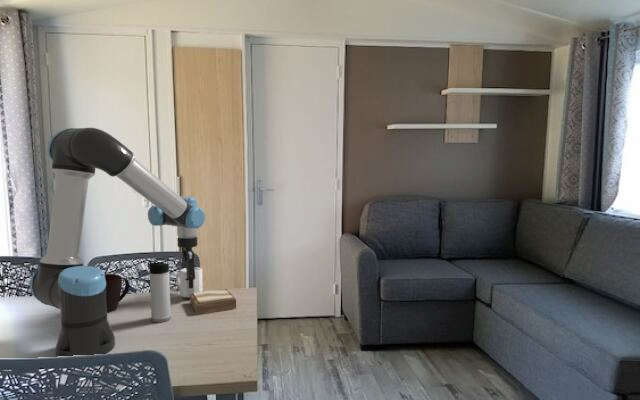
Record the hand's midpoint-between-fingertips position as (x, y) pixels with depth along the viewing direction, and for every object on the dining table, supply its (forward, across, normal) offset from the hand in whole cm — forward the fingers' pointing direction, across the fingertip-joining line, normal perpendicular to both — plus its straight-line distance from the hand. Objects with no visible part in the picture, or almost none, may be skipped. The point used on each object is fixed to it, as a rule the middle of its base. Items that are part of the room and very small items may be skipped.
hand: (188, 292), depth 174 cm
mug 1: (+2, -2, +28) cm, 28 cm away
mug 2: (+1, +1, 0) cm, 1 cm away
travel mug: (+2, -21, +13) cm, 24 cm away
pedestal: (+2, -15, -6) cm, 16 cm away
